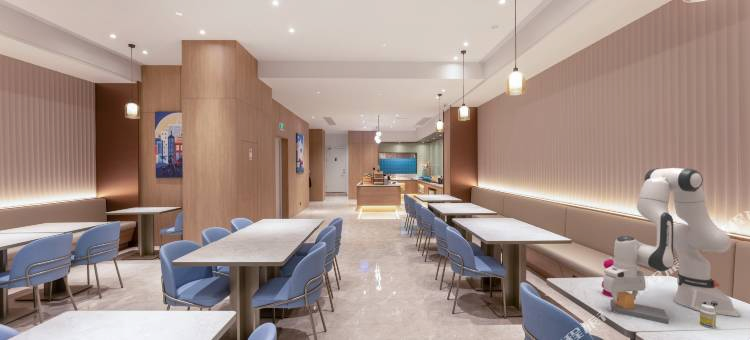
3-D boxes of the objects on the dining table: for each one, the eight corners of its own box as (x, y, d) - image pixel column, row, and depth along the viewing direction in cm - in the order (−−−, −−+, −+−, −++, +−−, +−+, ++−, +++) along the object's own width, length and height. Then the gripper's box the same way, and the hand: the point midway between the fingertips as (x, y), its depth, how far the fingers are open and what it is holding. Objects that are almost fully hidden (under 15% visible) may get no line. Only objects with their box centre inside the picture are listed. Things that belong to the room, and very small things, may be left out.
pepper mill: (621, 298, 168) (622, 259, 167) (605, 296, 169) (606, 258, 169) (613, 292, 175) (614, 255, 174) (598, 291, 176) (599, 255, 176)
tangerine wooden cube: (623, 303, 156) (624, 290, 156) (633, 307, 151) (634, 295, 151) (615, 303, 155) (615, 291, 155) (624, 308, 150) (625, 295, 150)
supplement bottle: (707, 323, 141) (707, 303, 141) (718, 328, 137) (719, 308, 137) (696, 323, 141) (696, 303, 141) (707, 328, 137) (708, 308, 137)
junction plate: (663, 313, 150) (664, 298, 150) (668, 324, 140) (669, 307, 140) (610, 302, 161) (610, 289, 161) (611, 311, 151) (611, 296, 151)
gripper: (636, 268, 158) (636, 296, 158) (601, 269, 155) (600, 298, 155) (649, 272, 152) (649, 301, 152) (612, 274, 148) (612, 304, 148)
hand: (624, 300), depth 153 cm, fingers open, 8 cm apart
